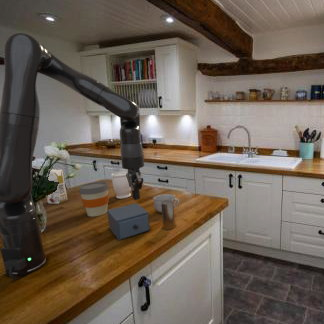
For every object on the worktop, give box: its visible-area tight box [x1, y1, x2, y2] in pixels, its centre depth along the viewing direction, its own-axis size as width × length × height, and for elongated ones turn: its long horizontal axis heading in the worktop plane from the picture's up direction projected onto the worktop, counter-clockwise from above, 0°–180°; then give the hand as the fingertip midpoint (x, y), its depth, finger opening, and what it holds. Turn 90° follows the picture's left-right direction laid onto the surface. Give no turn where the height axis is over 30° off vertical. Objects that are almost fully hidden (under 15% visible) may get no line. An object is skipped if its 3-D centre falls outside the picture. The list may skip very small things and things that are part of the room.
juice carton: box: [46, 168, 68, 205], centre depth 142 cm, size 8×9×19 cm
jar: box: [110, 170, 132, 200], centre depth 151 cm, size 11×10×15 cm
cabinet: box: [107, 202, 151, 241], centre depth 109 cm, size 15×13×9 cm
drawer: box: [118, 214, 150, 240], centre depth 107 cm, size 15×11×7 cm
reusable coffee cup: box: [78, 181, 110, 217], centre depth 126 cm, size 13×13×15 cm
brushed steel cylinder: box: [161, 200, 176, 230], centre depth 110 cm, size 5×5×12 cm
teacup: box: [152, 193, 180, 214], centre depth 128 cm, size 14×11×8 cm
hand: (136, 198), depth 95 cm, fingers closed
